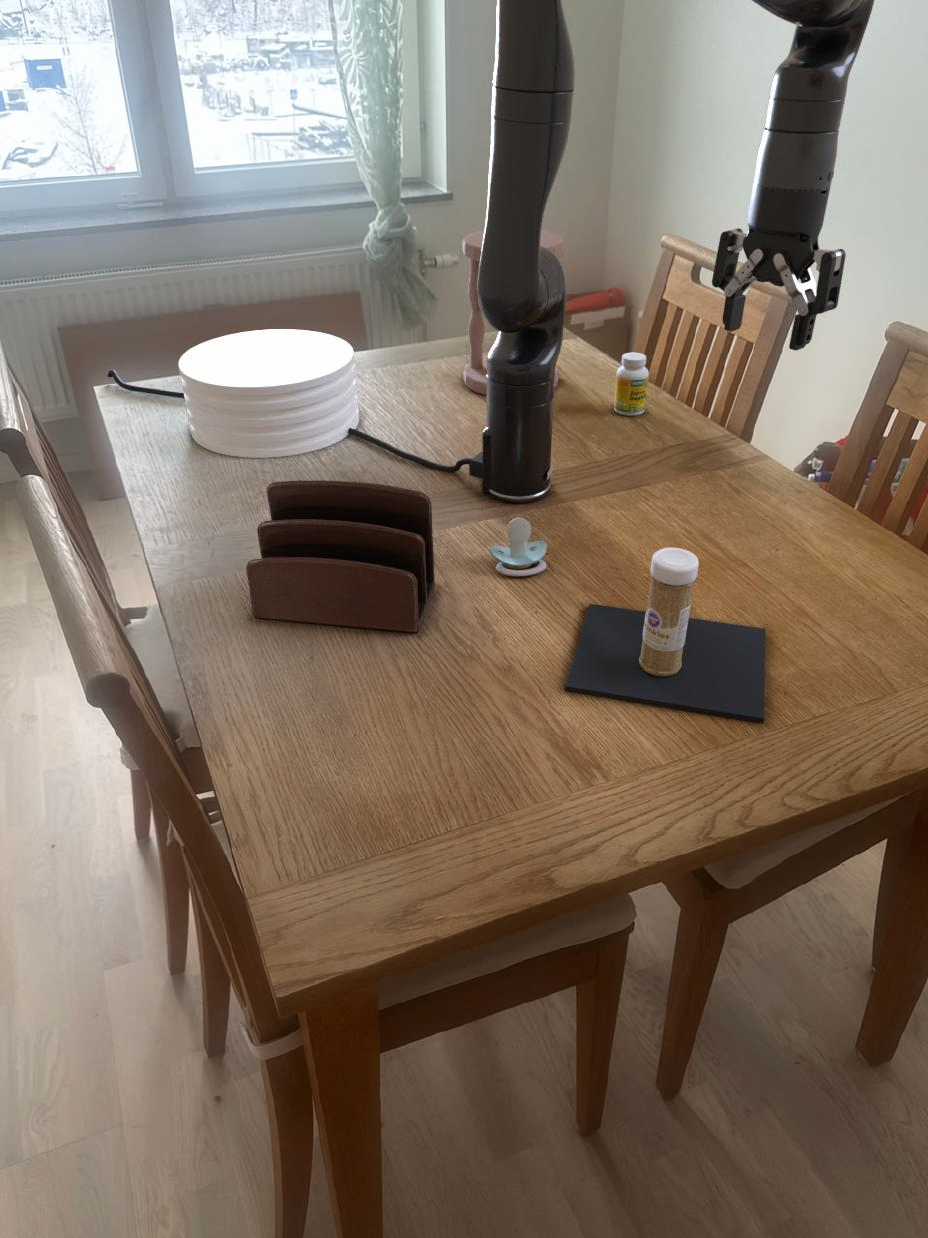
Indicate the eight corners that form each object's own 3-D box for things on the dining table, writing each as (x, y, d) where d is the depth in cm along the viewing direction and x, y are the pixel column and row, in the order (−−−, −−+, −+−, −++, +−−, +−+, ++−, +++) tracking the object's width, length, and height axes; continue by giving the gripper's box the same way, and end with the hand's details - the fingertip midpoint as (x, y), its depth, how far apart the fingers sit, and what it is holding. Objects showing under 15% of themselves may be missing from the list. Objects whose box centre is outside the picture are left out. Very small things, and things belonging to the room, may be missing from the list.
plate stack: (160, 421, 156) (146, 354, 150) (298, 380, 171) (291, 318, 165) (247, 474, 139) (236, 401, 132) (392, 423, 154) (388, 356, 148)
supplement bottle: (630, 402, 161) (635, 348, 156) (651, 412, 158) (657, 357, 152) (607, 409, 159) (611, 354, 153) (627, 419, 155) (633, 363, 150)
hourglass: (571, 372, 174) (579, 232, 160) (539, 404, 161) (545, 254, 147) (485, 360, 180) (486, 224, 166) (448, 389, 167) (445, 245, 153)
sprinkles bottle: (630, 667, 98) (643, 558, 90) (652, 647, 101) (667, 540, 93) (668, 684, 96) (685, 574, 88) (689, 663, 98) (707, 555, 91)
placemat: (564, 690, 96) (565, 685, 96) (589, 607, 109) (589, 603, 108) (763, 723, 91) (764, 718, 91) (764, 632, 104) (765, 628, 104)
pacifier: (553, 576, 115) (541, 551, 119) (556, 533, 111) (544, 509, 116) (495, 582, 114) (486, 556, 118) (496, 539, 110) (487, 514, 115)
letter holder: (281, 575, 115) (266, 472, 107) (436, 588, 112) (433, 483, 104) (252, 619, 107) (234, 512, 99) (418, 635, 104) (413, 526, 96)
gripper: (711, 174, 95) (691, 330, 104) (834, 193, 86) (800, 363, 95) (755, 166, 99) (732, 317, 108) (877, 183, 90) (840, 347, 99)
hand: (763, 338), depth 102 cm, fingers open, 8 cm apart
